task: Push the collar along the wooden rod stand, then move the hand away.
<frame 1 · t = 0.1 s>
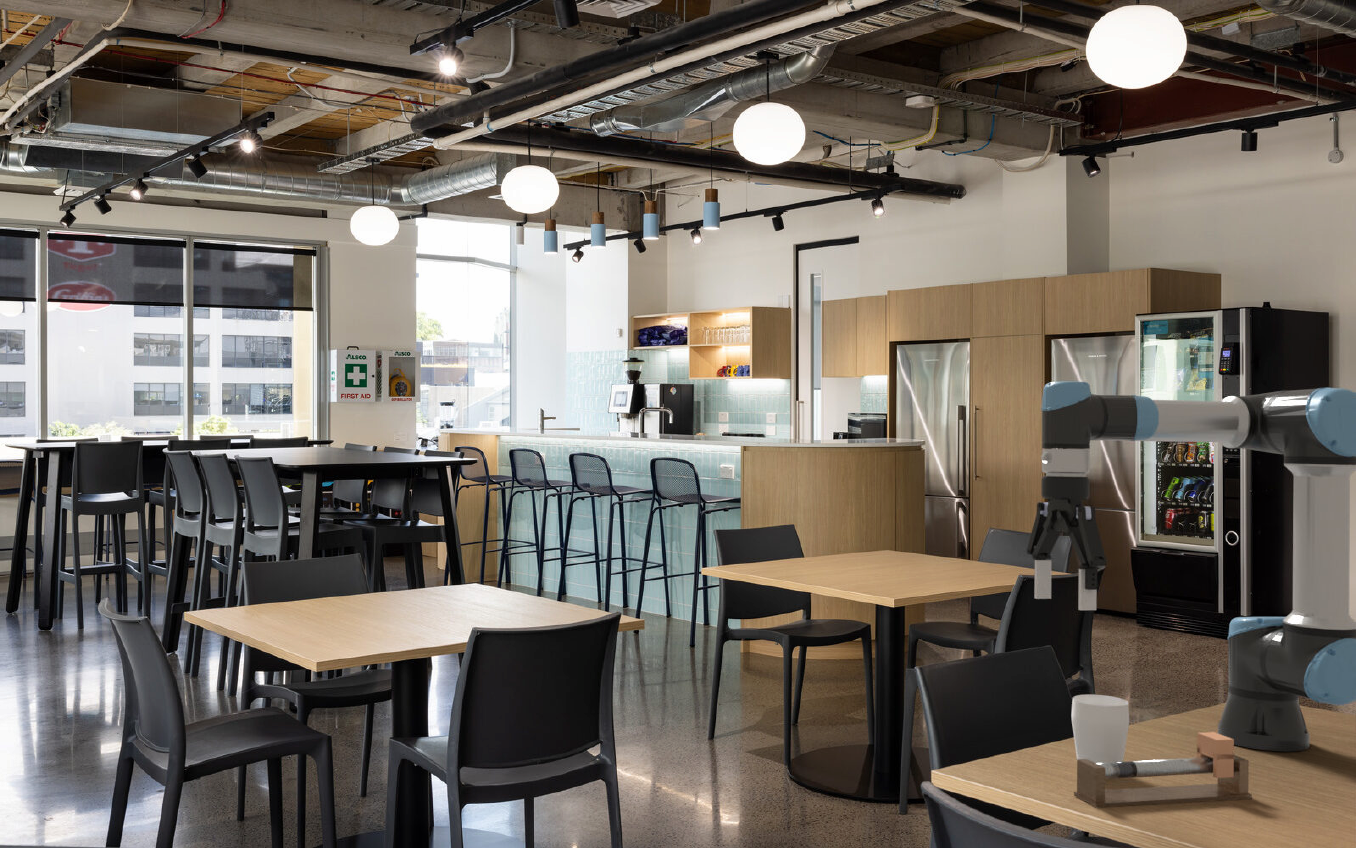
hand: (1064, 604, 189), 28 cm above the table, fingers open, 13 cm apart
collar: (1215, 754, 180), point 6 cm above the table, slide at 0.0 cm
wooden rod stand: (1164, 797, 178), on the table
cup: (1099, 774, 190), on the table
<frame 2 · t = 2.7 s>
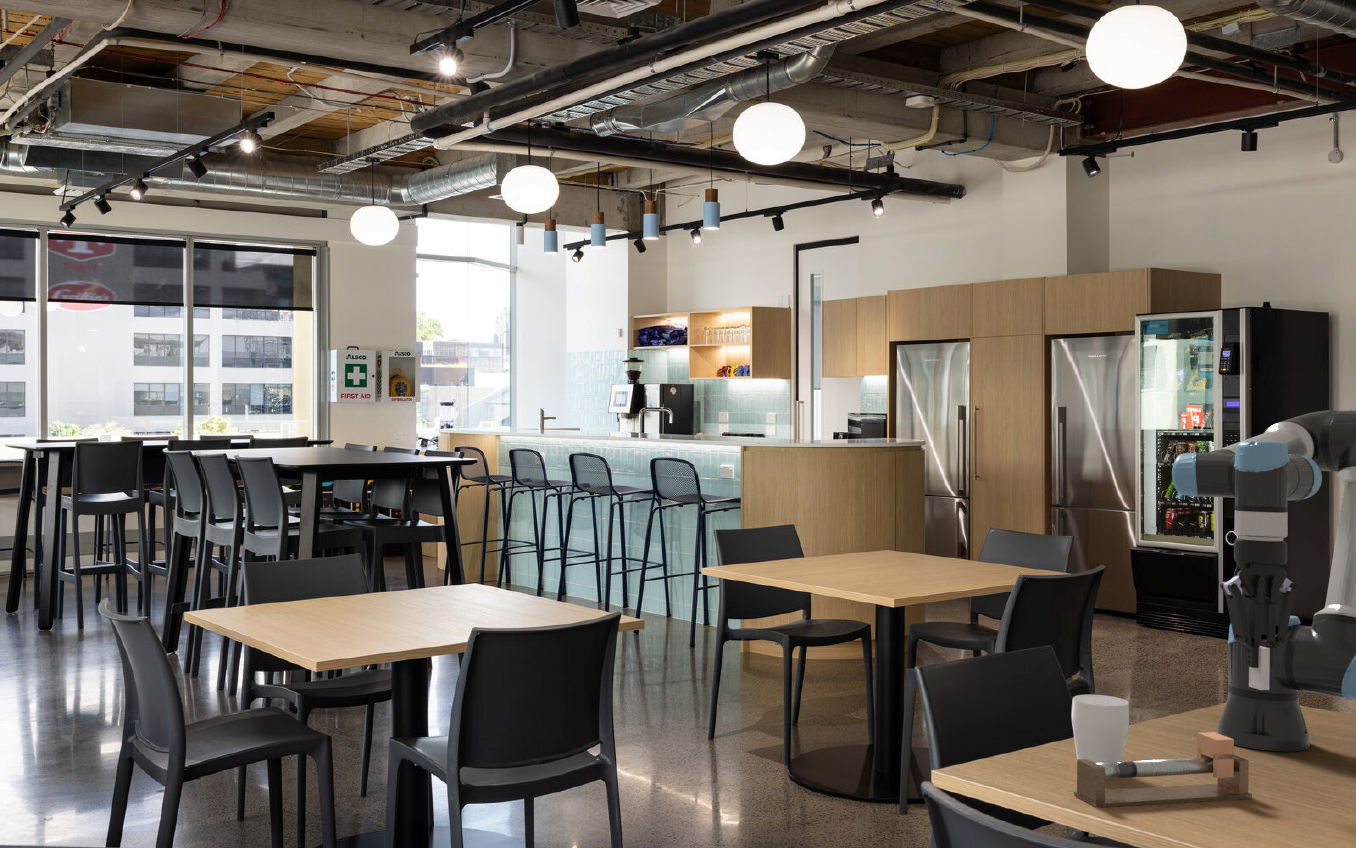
hand: (1259, 688, 181), 16 cm above the table, fingers closed
nothing on the table moved.
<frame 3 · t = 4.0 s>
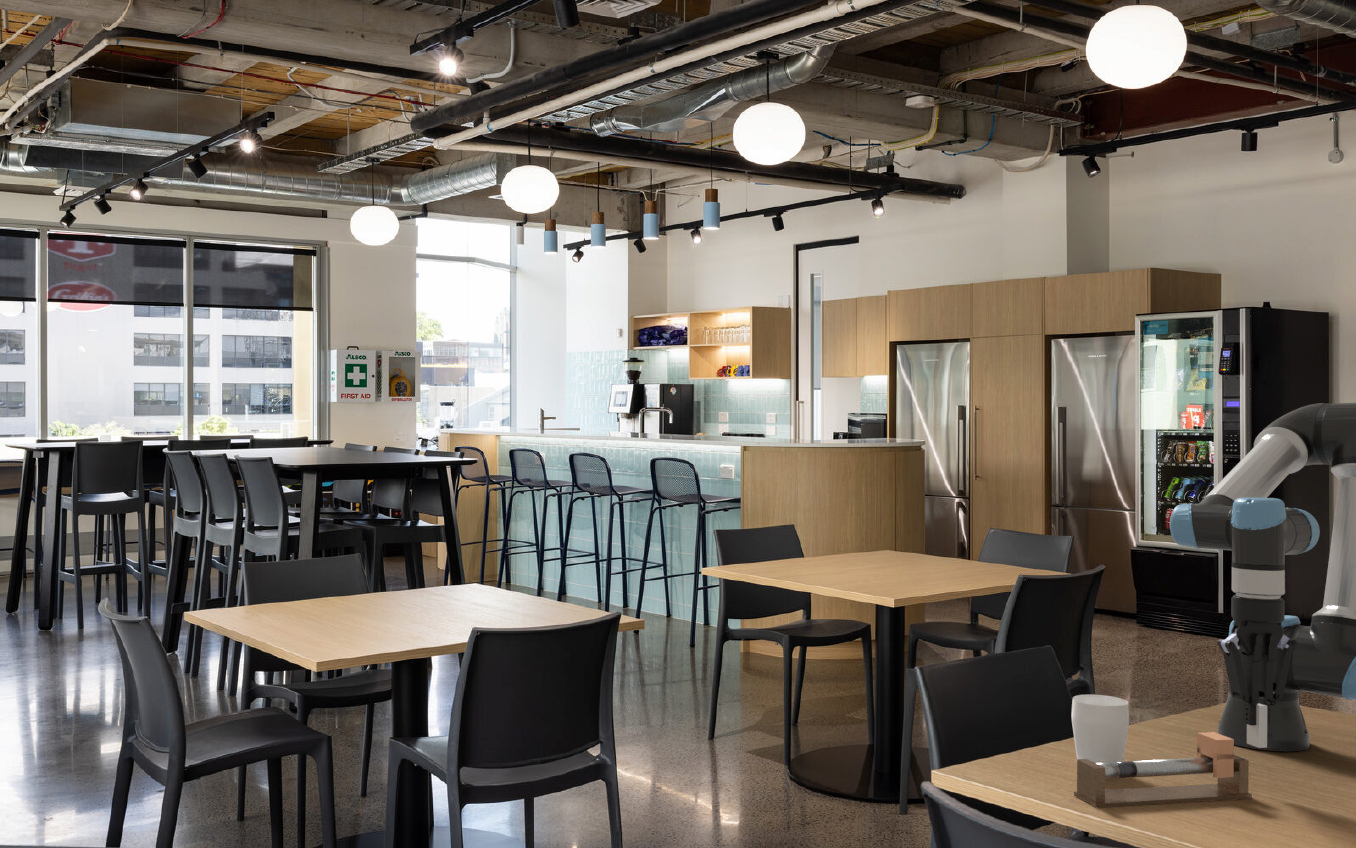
hand: (1256, 745, 181), 7 cm above the table, fingers closed
nothing on the table moved.
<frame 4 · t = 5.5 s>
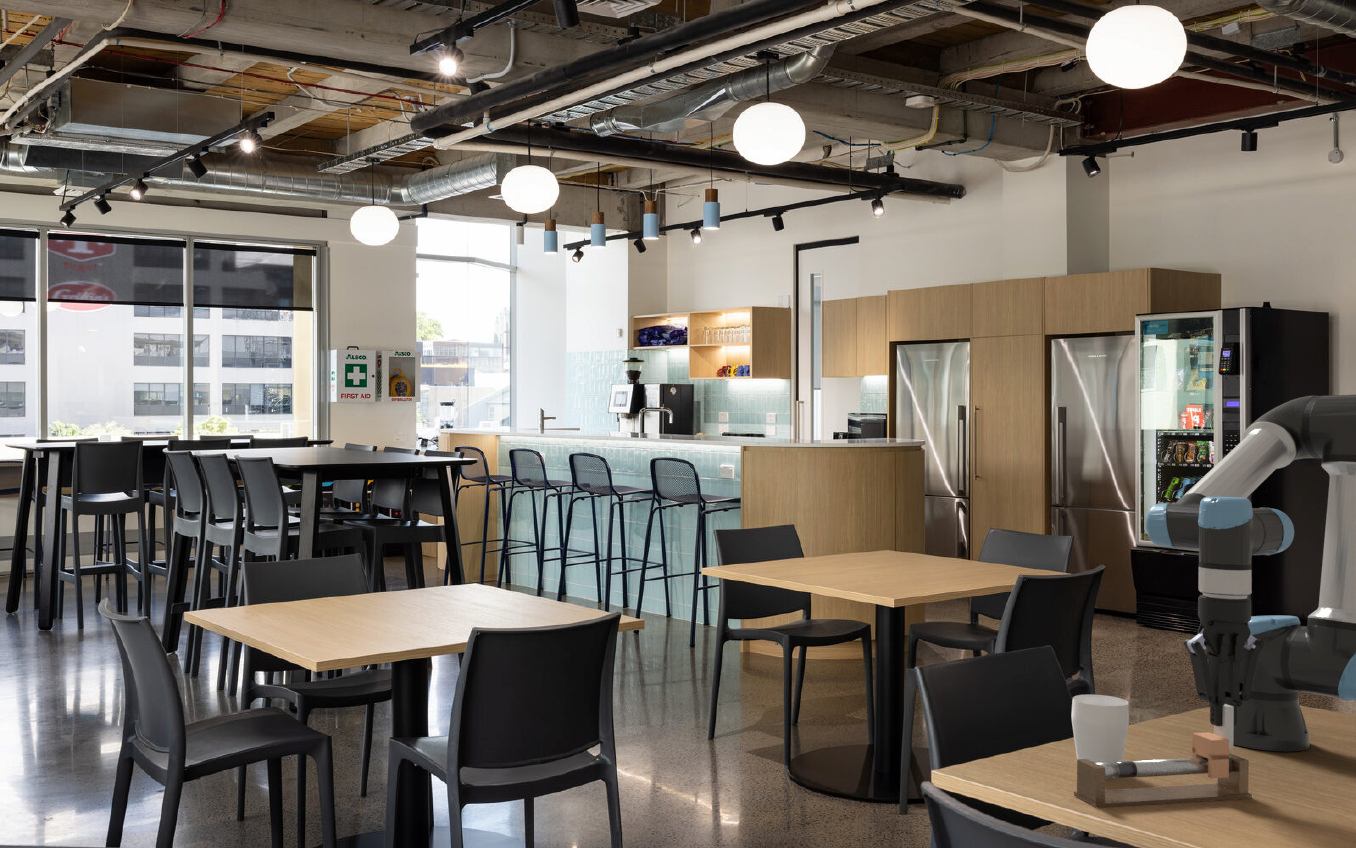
hand: (1223, 746, 180), 7 cm above the table, fingers closed
collar: (1210, 755, 180), point 6 cm above the table, slide at 0.9 cm, touching gripper
everything else where it was.
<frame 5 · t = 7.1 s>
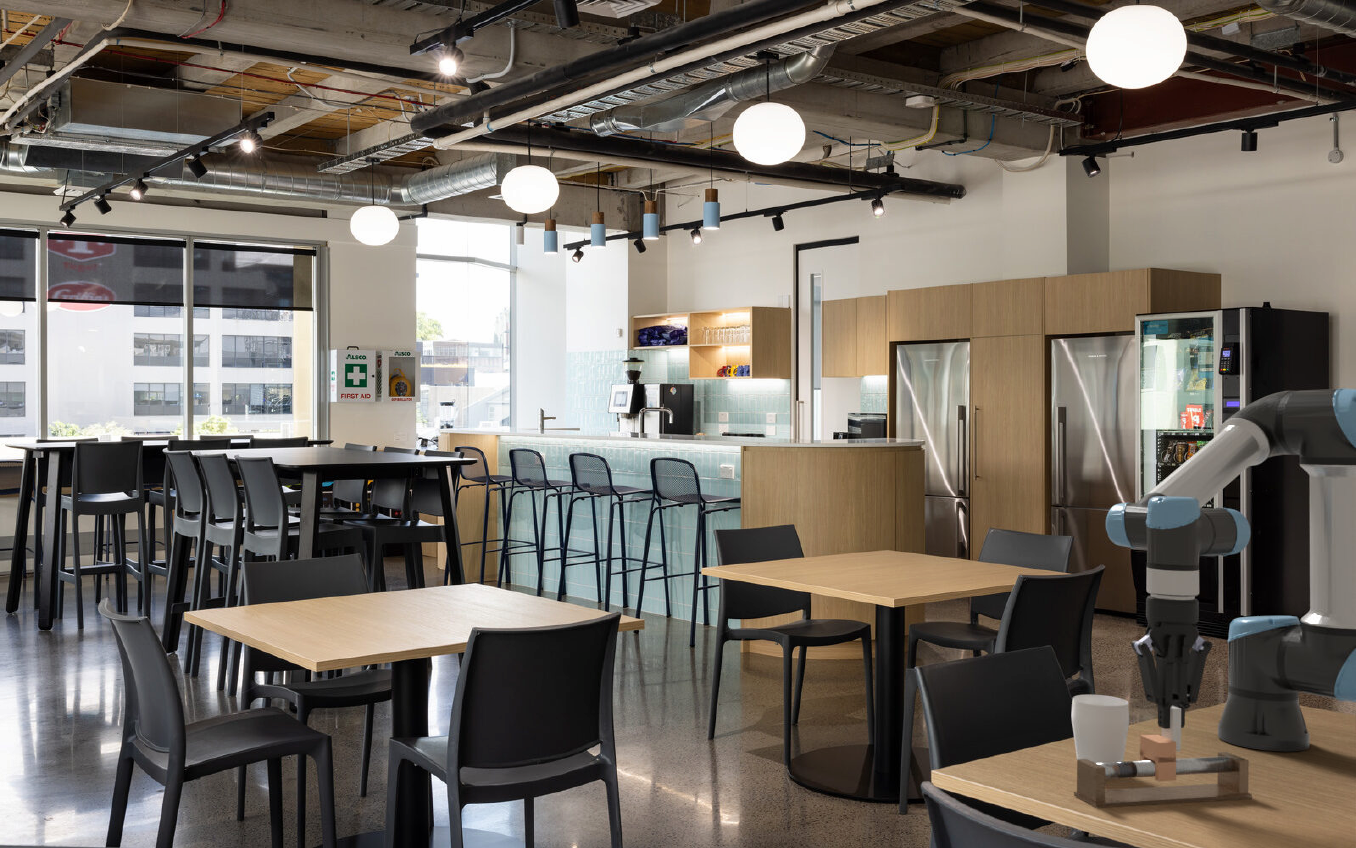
hand: (1171, 749, 178), 7 cm above the table, fingers closed
collar: (1157, 757, 178), point 6 cm above the table, slide at 10.1 cm, touching gripper
everything else where it was.
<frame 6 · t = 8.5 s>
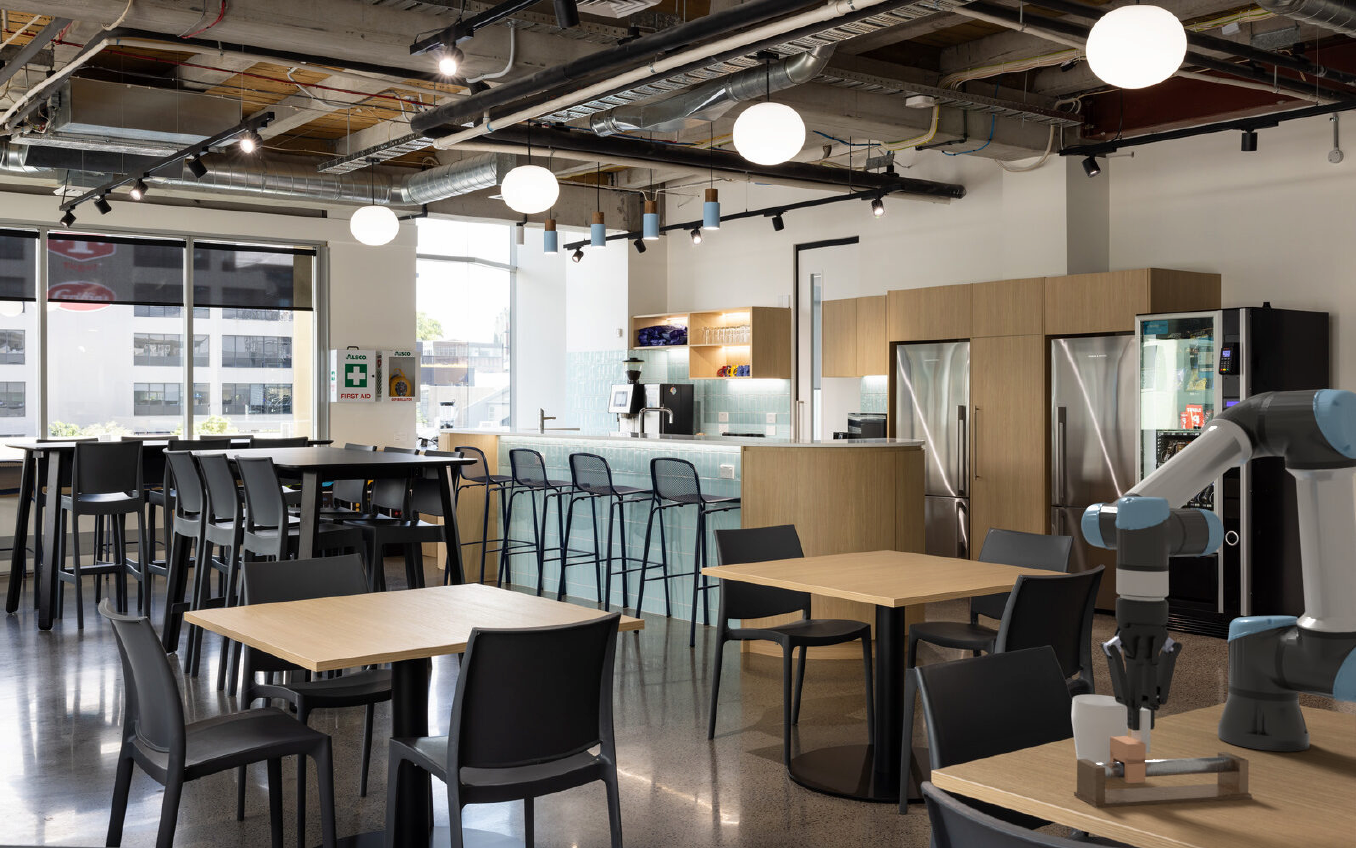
hand: (1140, 751, 177), 7 cm above the table, fingers closed
collar: (1127, 759, 176), point 6 cm above the table, slide at 15.4 cm, touching gripper
everything else where it was.
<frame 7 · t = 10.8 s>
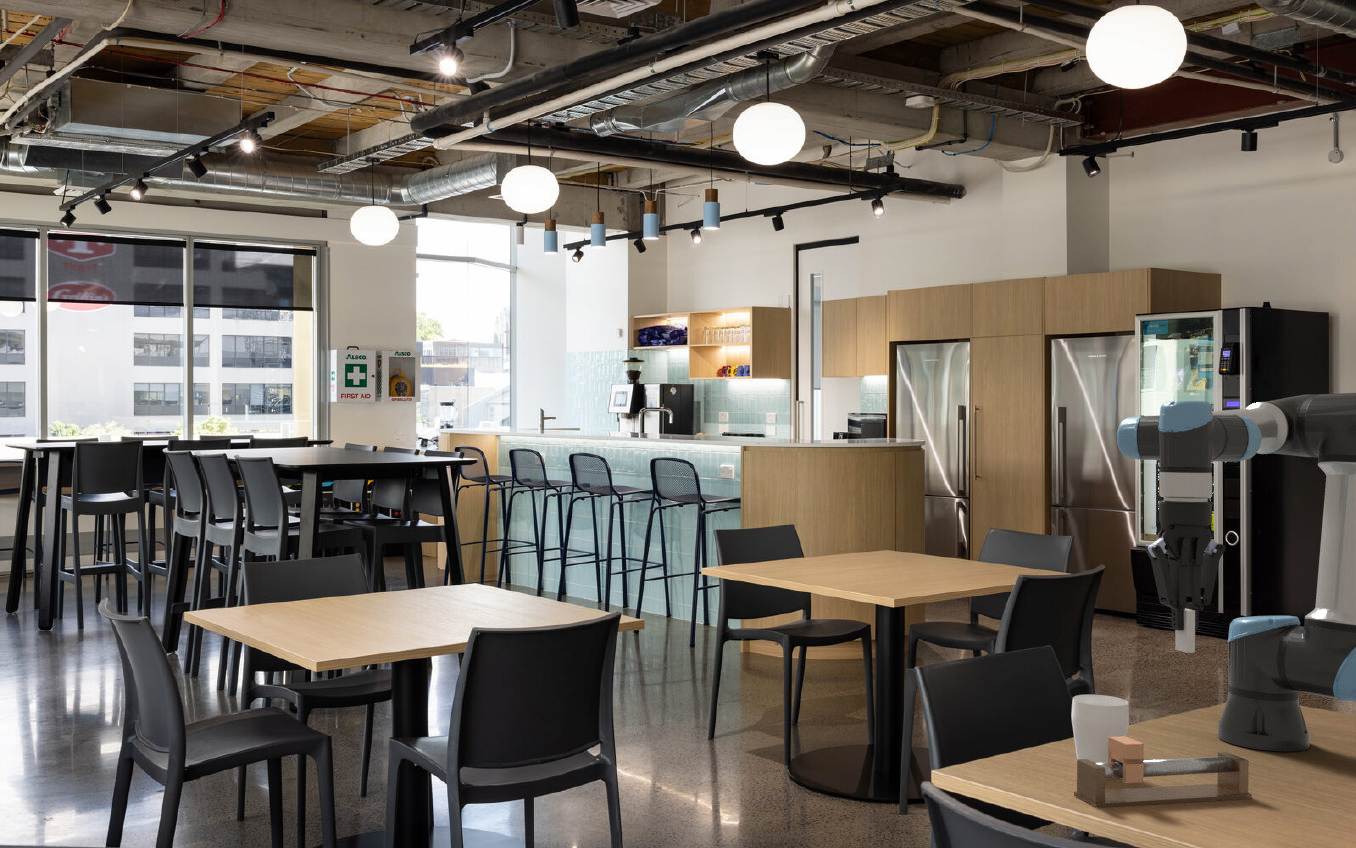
hand: (1185, 651, 179), 22 cm above the table, fingers closed
collar: (1125, 759, 176), point 6 cm above the table, slide at 15.7 cm
everything else where it was.
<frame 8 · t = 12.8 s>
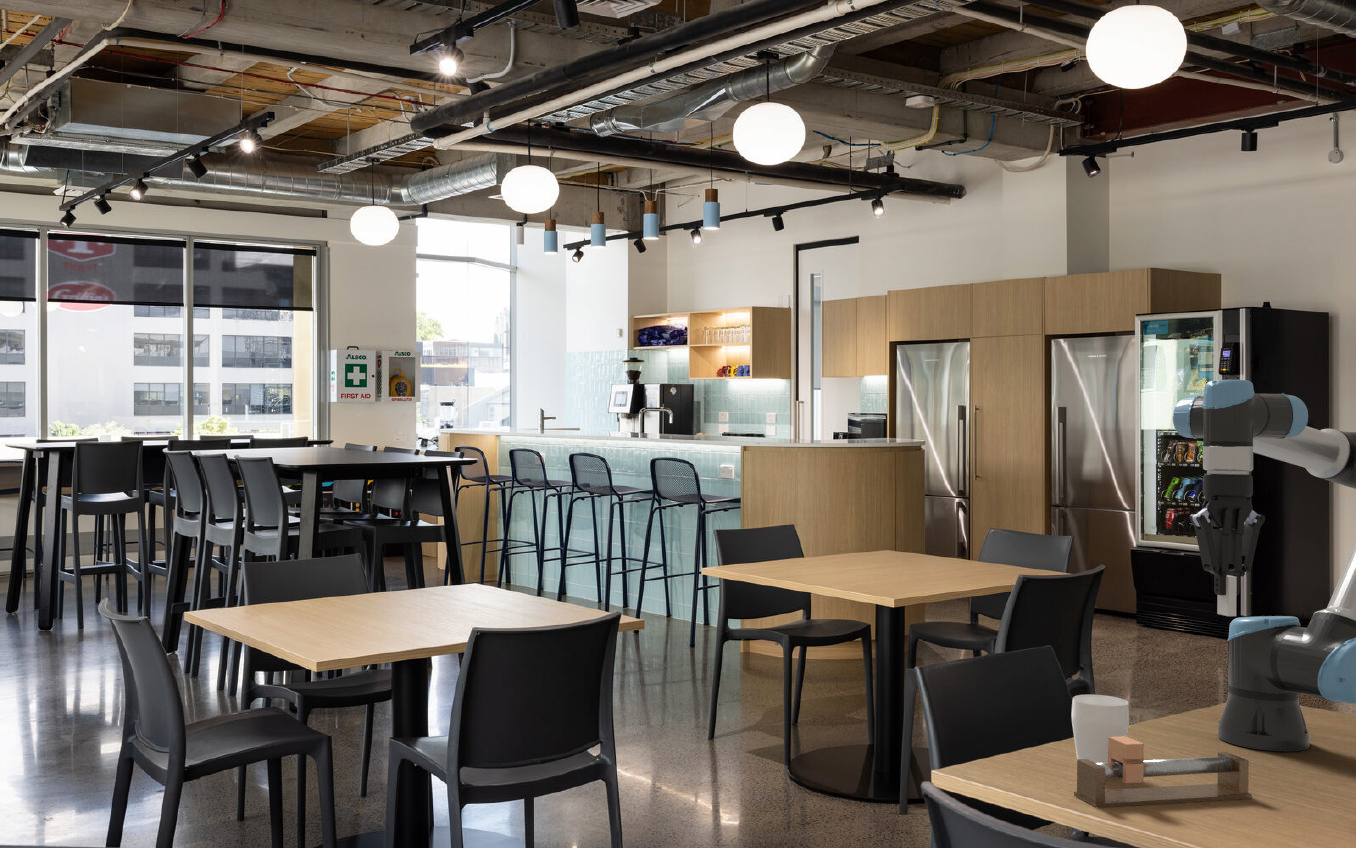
hand: (1226, 614, 191), 26 cm above the table, fingers closed
nothing on the table moved.
at the end: collar slide at 15.7 cm; collar touching nothing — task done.
